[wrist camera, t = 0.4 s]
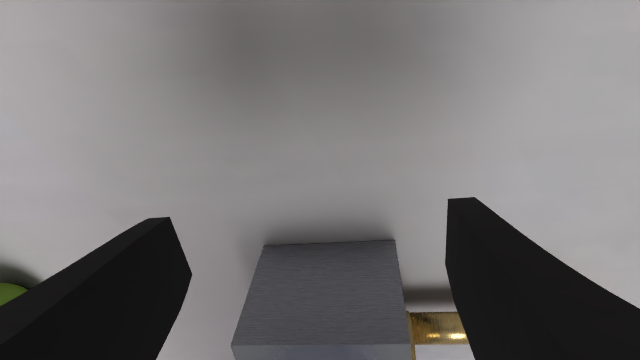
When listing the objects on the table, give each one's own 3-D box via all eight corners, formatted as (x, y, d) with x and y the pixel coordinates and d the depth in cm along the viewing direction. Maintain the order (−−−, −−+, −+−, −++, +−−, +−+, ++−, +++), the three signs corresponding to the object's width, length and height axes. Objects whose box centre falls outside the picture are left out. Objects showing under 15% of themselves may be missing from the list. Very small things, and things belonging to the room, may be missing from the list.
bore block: (398, 349, 26) (411, 461, 20) (289, 350, 27) (271, 457, 21) (394, 240, 22) (410, 344, 16) (263, 245, 23) (230, 345, 17)
